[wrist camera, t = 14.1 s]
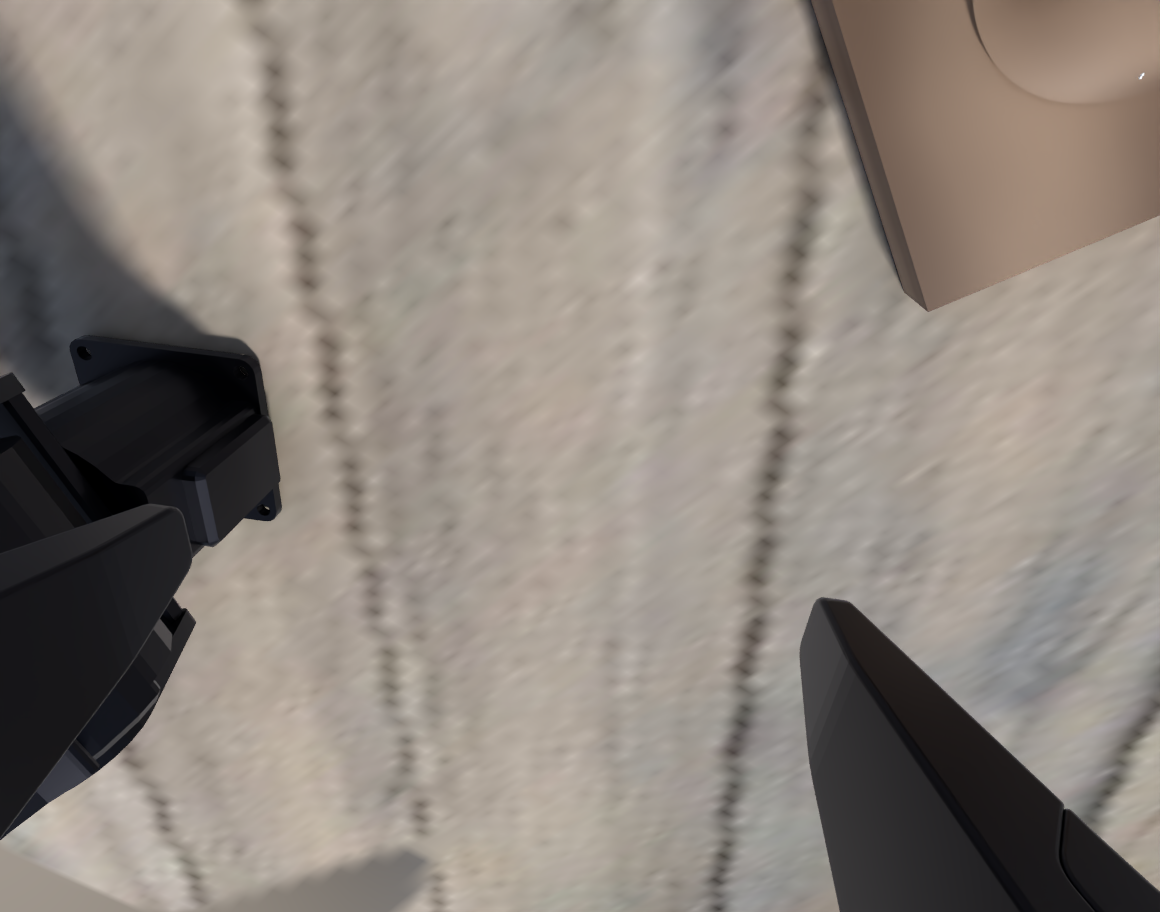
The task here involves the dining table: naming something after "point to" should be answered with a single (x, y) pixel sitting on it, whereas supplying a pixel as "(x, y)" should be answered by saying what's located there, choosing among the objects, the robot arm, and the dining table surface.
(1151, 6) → the beer glass
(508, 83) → the dining table surface
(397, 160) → the dining table surface
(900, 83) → the walnut board
